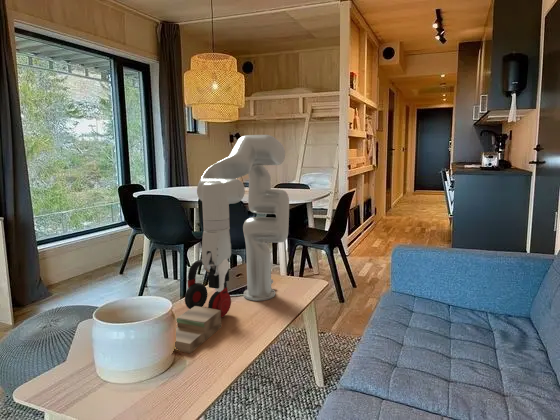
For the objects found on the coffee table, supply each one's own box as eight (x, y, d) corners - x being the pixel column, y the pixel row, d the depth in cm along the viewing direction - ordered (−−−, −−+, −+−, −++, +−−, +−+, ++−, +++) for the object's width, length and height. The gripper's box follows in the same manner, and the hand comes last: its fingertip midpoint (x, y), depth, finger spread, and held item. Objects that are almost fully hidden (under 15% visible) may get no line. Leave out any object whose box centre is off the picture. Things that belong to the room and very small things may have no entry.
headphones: (235, 314, 145) (234, 260, 141) (215, 324, 137) (213, 267, 134) (201, 303, 155) (199, 252, 152) (181, 312, 147) (178, 259, 144)
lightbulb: (213, 296, 117) (212, 260, 115) (206, 290, 122) (204, 255, 120) (233, 292, 120) (231, 256, 118) (225, 286, 125) (223, 252, 123)
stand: (195, 322, 139) (194, 305, 138) (221, 327, 135) (220, 310, 134) (162, 347, 122) (160, 328, 121) (190, 353, 119) (189, 334, 118)
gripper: (218, 218, 127) (221, 273, 130) (189, 230, 111) (192, 293, 114) (240, 219, 124) (242, 276, 128) (213, 231, 108) (216, 296, 112)
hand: (219, 283), depth 121 cm, fingers closed on lightbulb, 5 cm apart
